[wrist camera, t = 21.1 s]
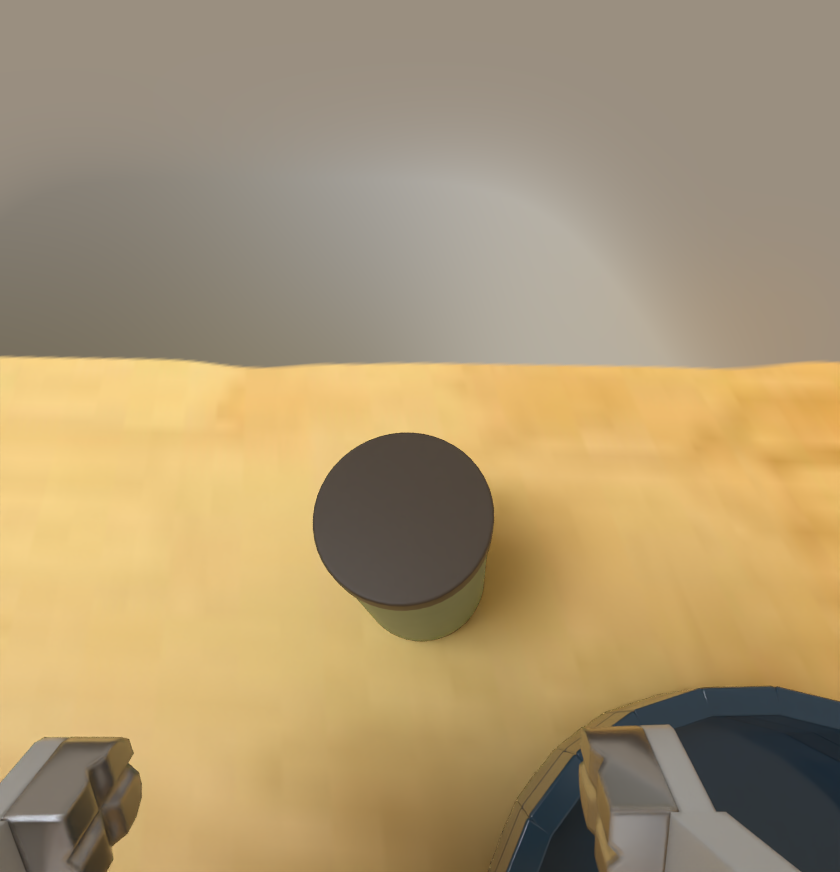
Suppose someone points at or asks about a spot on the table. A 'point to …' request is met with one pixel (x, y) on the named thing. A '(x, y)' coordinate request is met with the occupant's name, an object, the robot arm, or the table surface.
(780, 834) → the pot
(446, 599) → the canister
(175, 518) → the table surface
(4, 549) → the table surface
